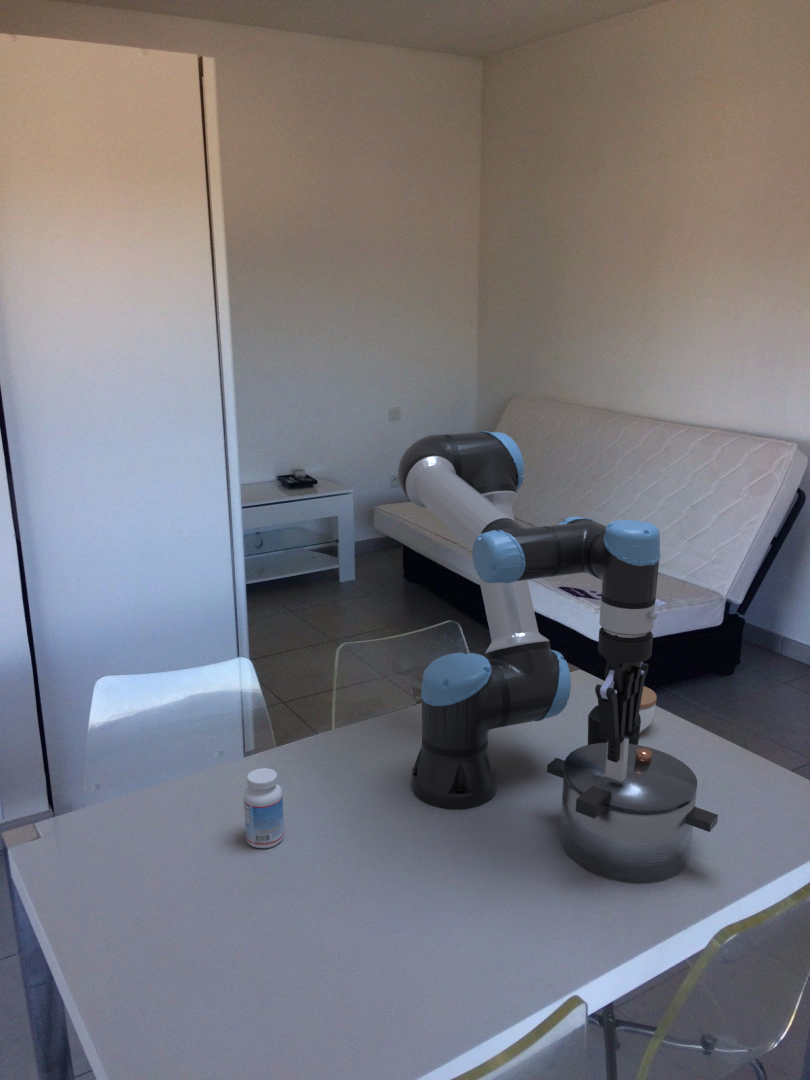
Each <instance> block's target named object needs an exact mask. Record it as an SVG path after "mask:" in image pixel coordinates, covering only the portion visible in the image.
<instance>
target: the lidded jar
mask: <svg viewBox="0 0 810 1080" xmlns="http://www.w3.org/2000/svg"><path fill="white" fill-rule="evenodd" d="M657 698H658V696H657V693H656V692H655V691H654V689H653V690H652V689H651V688H649V687H647V686H645V685H644V687H643V693H642V698H641V704H640V710H639V715H640V717H641V725H640V733H639V735H640V734H641V733H642V732H643V731H645V730H646V729H647V728H648V727H649V726H650V724H651V723H652V722H653V718H654V716H655V712H656V705H657V700H658V699H657Z"/></svg>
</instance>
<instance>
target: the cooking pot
mask: <svg viewBox="0 0 810 1080" xmlns="http://www.w3.org/2000/svg"><path fill="white" fill-rule="evenodd" d="M564 762H565V760H564V759H563V758H562V759H561V758H559V757H555V758H554V759H552V761H550V762H549V763H548V764H547V765H546V766H547V767H546V773H548V774H551V775H553V776H556V777H559V778H561V779H562V795H561V813H560V814H561V815H560V832H559V833H560V834H559V841H560V844H561V847H562V848H563V850H564V852H565V854H566V855H567V856H568V858H570V859H571V860H572V861H573V862H574V863H575V864H577V865H578V866H580V867H581V868H583V870H584V869H585V870H586V871H588V872H589V873H593V874H595V875H597V876H600V877H603V878H605V879H609V880H613V881H617V882H622V883H629V884H630V883H631V884H651V883H658V882H663V881H665V880H669V879H672V878H674V877H677V875H679V874H680V873H682V872H683V871H684V870H685V869H686V868H687V866H688V864H689V863H690V861H691V859H690V858H691V851H692V841H693V829H694V828H697V829H699V830H703V831H705V832H708V833H711V831H713V829H714V828H715V827H716V825H717V824H718V820H719V819H718V817H719V814H717V813H713V812H712V811H710V810H709V811H708V810H706V809H702V808H700V807H697V806H696V801H697V800H696V799H697V794H696V795H695V798H694V799H693V800H692V801H691V802H690V803H689V804H687V805H686V806H684V807H682V808H679V809H676V810H672V811H668V812H660V813H638V812H629V811H623V810H618V809H614V808H610V807H608V808H606V809H605V810H604V811H603V812H602V813H601V814H600V815H598V816H597V817H596V818H595V819H594V818H591V817H589V816H586V815H584V814H581V813H578V812H576V799H577V798H578V797H579V796H581V795H580V794H579V793H577V792H576V791H575V790H574V789H573V788H572V787H571V786H570V785H569V784H568V783H567V781H566V779H565V777H564Z"/></svg>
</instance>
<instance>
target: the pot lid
mask: <svg viewBox="0 0 810 1080" xmlns="http://www.w3.org/2000/svg"><path fill="white" fill-rule="evenodd" d="M606 755H607V743H597V744H591V745H588V744H587V745H583V746H581V747H578V748H576V749H574V750H573V751H571V752H570V753H569V754H567V756H566V757H565V762H564V777H565V779H566V781H567V783H568V784H569V785H570V786H571V787H572V788H573V789H574V790H575V791H576V792H577V793H579V794H580V795H581V796H579V797H578V798H577V799H576V812H578V813H581V814H584V815H586V816H589V817H591V818H594V819H595V818H596V817H597V816H598V815H600V814H601V813H602V812H603V811H604V810H605V809H606V808H608V807H610V808H614V809H618V810H623V811H629V812H638V813H660V812H668V811H672V810H676V809H679V808H682V807H684V806H686V805H687V804H689V803H690V802H691V801H692V800H693V799H694V798H695V795H696V796H697V789H698V780H697V779H698V778H697V776H696V774H695V772H694V771H693V770H692V769H691V768H690V767H689V766H688V765H687V764H685V762H683V761H682V760H680V759H678V758H677V757H675V756H672V755H671V754H668V753H666V752H664V751H661V750H658V749H655V748H653V747H652V748H651V747H648V746H645V745H639V744H638V745H635V744H629V746H628V760H627V773H626V779H625V780H623V781H622V782H620V781H617V780H615V779H612V778H609V777H606V776H605V770H606Z"/></svg>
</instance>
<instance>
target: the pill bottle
mask: <svg viewBox="0 0 810 1080" xmlns="http://www.w3.org/2000/svg"><path fill="white" fill-rule="evenodd" d="M246 781H247V782H246V784H247V787H246V789H245V790H244V792H243V808H244V810H243V811H244V826H245V839H246V843H247V844H248V845H250V846H251V847H254V848H258V849H268V848H269V849H270V848H272V847H275V846H277V845H278V844H279V843H281V842H282V841H283V839H284V838H285V824H284V823H285V821H284V820H285V819H284V799H283V797H284V796H283V794H284V793H283V790H282V787H281V786H280V785H279V784H278V773H277V771H275V770H274V769H272V768H264V767H263V768H256V769H254V770H252V771H250V772H249V773H248V774H247V776H246Z"/></svg>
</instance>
